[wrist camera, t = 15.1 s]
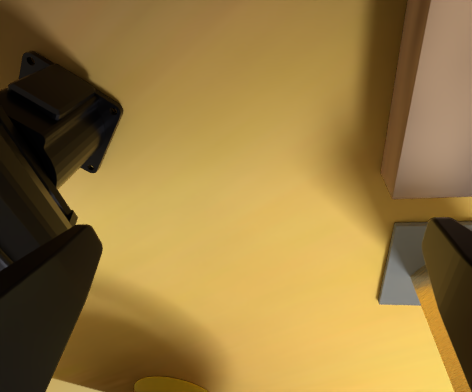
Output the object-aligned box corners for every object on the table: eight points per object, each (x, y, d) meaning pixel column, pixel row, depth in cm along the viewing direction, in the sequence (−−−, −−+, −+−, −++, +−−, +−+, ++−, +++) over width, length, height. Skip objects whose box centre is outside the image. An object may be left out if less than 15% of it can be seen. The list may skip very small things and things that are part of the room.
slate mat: (378, 300, 29) (379, 304, 29) (394, 222, 24) (396, 226, 23) (497, 303, 28) (499, 307, 27) (547, 219, 22) (551, 223, 21)
